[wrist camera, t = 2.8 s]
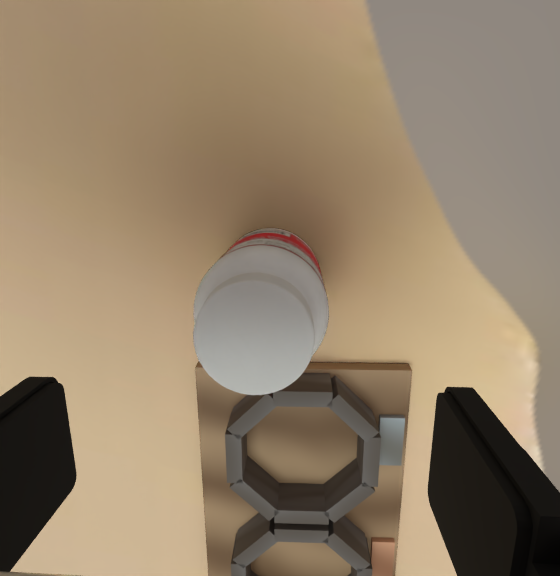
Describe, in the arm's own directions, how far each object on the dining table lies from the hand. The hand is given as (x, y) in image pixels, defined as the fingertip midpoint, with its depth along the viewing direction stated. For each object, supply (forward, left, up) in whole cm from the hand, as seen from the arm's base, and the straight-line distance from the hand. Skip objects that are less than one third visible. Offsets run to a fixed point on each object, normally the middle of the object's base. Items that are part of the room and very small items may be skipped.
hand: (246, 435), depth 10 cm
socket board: (+16, +2, -17) cm, 23 cm away
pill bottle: (0, 0, -17) cm, 17 cm away
